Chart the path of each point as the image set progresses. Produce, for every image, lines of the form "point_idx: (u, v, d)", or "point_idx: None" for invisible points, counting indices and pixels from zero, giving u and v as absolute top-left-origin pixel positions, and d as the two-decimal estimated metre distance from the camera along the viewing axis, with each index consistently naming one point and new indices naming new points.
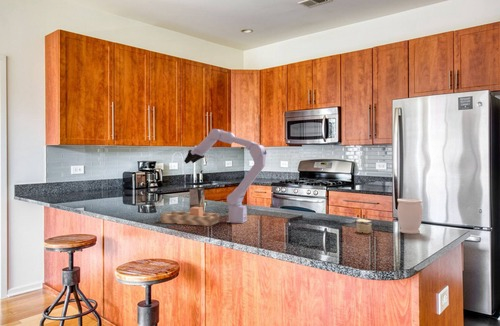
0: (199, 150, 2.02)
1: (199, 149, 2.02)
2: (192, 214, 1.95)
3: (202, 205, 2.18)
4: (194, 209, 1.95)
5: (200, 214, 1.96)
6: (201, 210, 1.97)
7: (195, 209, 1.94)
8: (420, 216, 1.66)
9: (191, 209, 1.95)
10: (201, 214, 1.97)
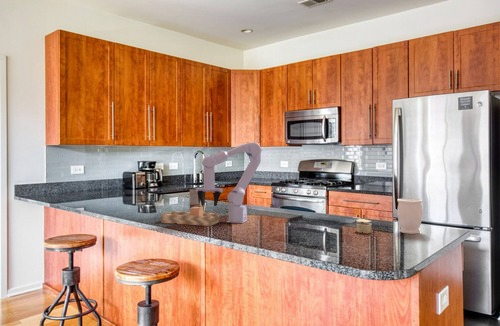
0: (214, 186, 1.94)
1: (214, 185, 1.93)
2: (192, 214, 1.95)
3: None
4: (194, 209, 1.95)
5: (200, 214, 1.96)
6: (201, 210, 1.97)
7: (195, 209, 1.94)
8: (420, 216, 1.66)
9: (191, 209, 1.95)
10: (201, 214, 1.97)
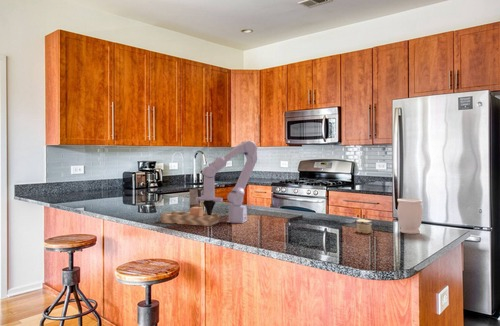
0: (214, 195, 1.94)
1: (214, 194, 1.93)
2: (192, 214, 1.95)
3: (202, 205, 2.17)
4: (194, 209, 1.95)
5: (200, 214, 1.96)
6: (201, 210, 1.97)
7: (195, 209, 1.94)
8: (420, 216, 1.66)
9: (191, 209, 1.95)
10: (201, 214, 1.97)
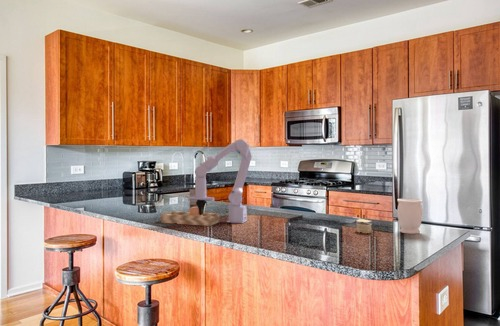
0: (206, 195, 1.95)
1: (205, 194, 1.95)
2: (191, 214, 1.95)
3: None
4: (193, 209, 1.95)
5: (199, 214, 1.96)
6: None
7: (194, 209, 1.95)
8: (420, 216, 1.66)
9: (190, 209, 1.95)
10: None
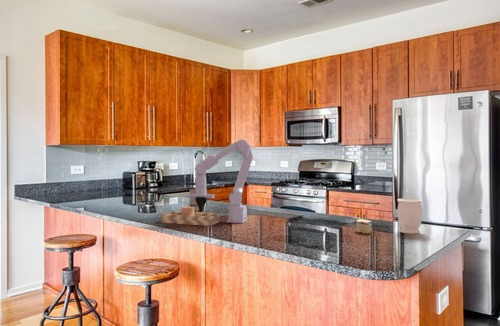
0: (206, 192, 1.97)
1: (206, 191, 1.96)
2: (183, 213, 1.97)
3: None
4: (185, 209, 1.96)
5: (191, 214, 1.97)
6: (192, 210, 1.98)
7: (186, 209, 1.96)
8: (420, 216, 1.66)
9: (182, 209, 1.97)
10: (192, 214, 1.98)
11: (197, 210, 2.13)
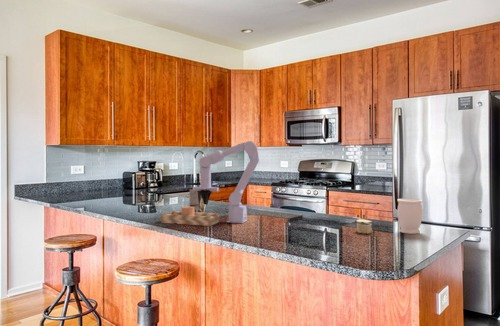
0: (210, 185, 1.99)
1: (210, 184, 1.98)
2: (183, 213, 1.97)
3: (202, 205, 2.18)
4: (185, 209, 1.96)
5: (191, 214, 1.97)
6: (192, 210, 1.98)
7: (186, 209, 1.96)
8: (420, 216, 1.66)
9: (182, 209, 1.97)
10: (192, 214, 1.98)
11: (197, 210, 2.13)
